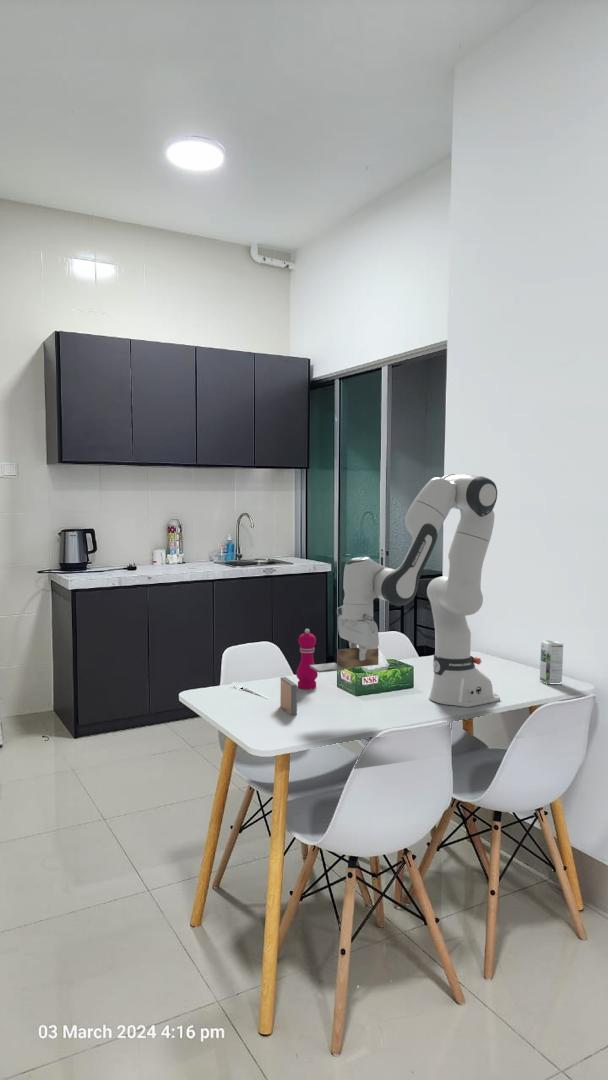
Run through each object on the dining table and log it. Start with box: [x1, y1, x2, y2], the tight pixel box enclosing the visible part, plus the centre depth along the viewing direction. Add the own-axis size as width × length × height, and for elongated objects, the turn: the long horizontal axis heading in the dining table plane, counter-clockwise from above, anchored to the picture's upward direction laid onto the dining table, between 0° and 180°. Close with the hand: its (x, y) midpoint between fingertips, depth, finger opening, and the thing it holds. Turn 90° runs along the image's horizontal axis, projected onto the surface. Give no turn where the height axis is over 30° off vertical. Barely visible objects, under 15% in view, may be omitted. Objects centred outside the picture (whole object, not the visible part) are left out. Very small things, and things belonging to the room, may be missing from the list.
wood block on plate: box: [310, 647, 380, 673], centre depth 215 cm, size 20×7×5 cm, turn 112°
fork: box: [231, 681, 269, 699], centre depth 241 cm, size 3×20×2 cm, turn 39°
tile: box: [280, 676, 298, 716], centre depth 221 cm, size 2×10×9 cm, turn 21°
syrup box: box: [539, 639, 564, 684], centre depth 255 cm, size 6×6×14 cm
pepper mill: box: [296, 628, 319, 690], centre depth 248 cm, size 7×7×20 cm
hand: (358, 658), depth 217 cm, fingers closed on wood block on plate, 3 cm apart
